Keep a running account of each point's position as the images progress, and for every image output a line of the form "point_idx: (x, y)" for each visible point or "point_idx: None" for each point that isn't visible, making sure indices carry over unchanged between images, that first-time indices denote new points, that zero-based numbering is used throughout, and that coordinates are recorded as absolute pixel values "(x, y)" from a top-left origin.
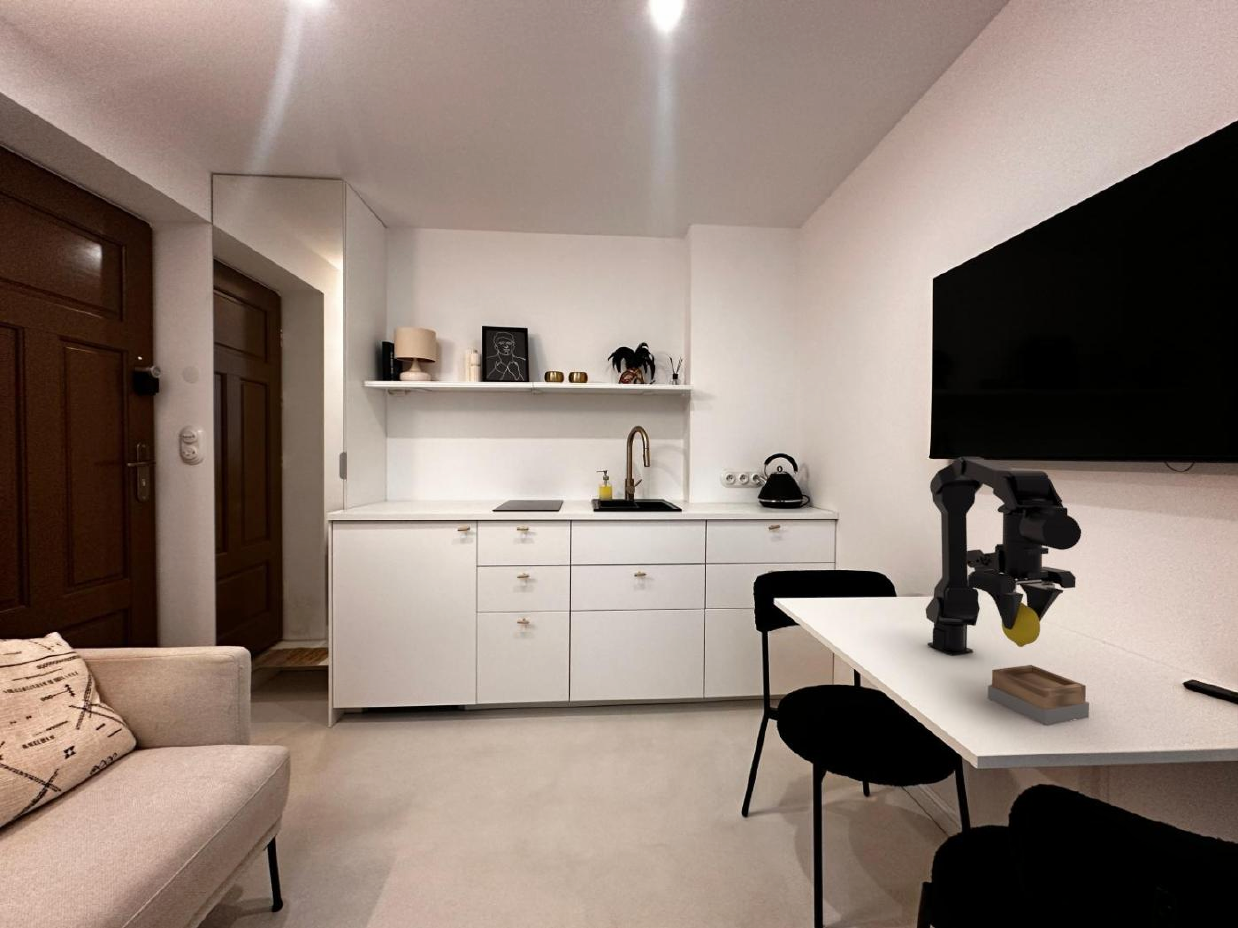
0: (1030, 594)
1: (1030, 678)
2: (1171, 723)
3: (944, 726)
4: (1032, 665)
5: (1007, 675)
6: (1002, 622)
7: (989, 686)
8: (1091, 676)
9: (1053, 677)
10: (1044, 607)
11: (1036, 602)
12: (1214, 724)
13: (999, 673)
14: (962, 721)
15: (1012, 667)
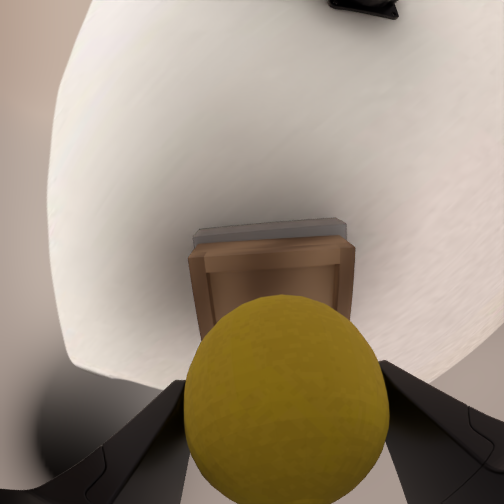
0: (475, 495)
1: (286, 292)
2: (421, 355)
3: (57, 301)
4: (353, 253)
5: (198, 301)
6: (193, 361)
7: (193, 239)
8: (497, 197)
9: None
10: (405, 490)
11: (428, 486)
12: (456, 356)
13: (192, 279)
14: (86, 297)
15: (273, 254)
